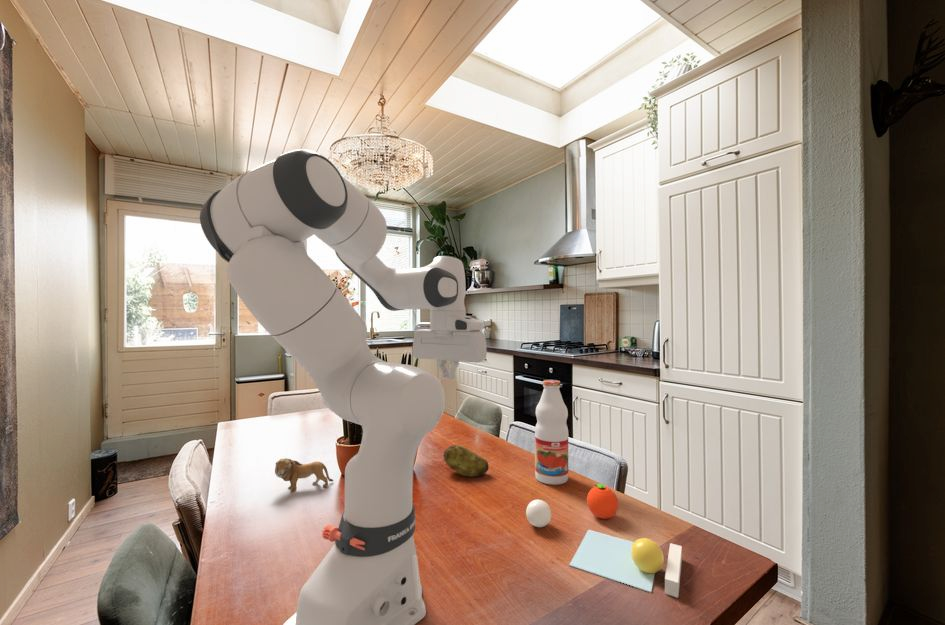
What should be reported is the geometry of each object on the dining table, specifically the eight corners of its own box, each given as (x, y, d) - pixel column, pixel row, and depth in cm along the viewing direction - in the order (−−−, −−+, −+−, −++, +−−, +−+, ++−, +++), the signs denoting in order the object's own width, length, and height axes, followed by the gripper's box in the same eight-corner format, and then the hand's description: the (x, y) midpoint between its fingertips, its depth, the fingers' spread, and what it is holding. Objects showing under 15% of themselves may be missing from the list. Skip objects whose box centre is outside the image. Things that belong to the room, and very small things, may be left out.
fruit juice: (565, 472, 117) (565, 378, 117) (571, 486, 107) (571, 384, 108) (533, 471, 117) (533, 378, 118) (536, 485, 108) (536, 383, 108)
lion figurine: (275, 498, 100) (275, 463, 100) (273, 490, 104) (273, 456, 104) (335, 485, 107) (335, 453, 107) (331, 478, 112) (331, 447, 112)
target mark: (651, 592, 66) (651, 591, 66) (569, 565, 73) (569, 564, 73) (659, 550, 78) (659, 549, 78) (588, 530, 85) (588, 529, 85)
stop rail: (678, 598, 65) (678, 582, 65) (664, 593, 66) (664, 578, 66) (681, 559, 75) (681, 546, 75) (670, 555, 76) (670, 543, 76)
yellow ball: (660, 585, 68) (664, 555, 68) (627, 571, 71) (630, 542, 71) (663, 568, 73) (666, 539, 73) (631, 555, 76) (635, 528, 76)
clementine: (581, 507, 95) (581, 478, 95) (608, 506, 96) (608, 477, 96) (593, 525, 87) (593, 493, 87) (623, 524, 88) (623, 492, 88)
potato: (477, 483, 109) (478, 455, 109) (439, 474, 115) (439, 447, 115) (491, 473, 116) (491, 446, 116) (454, 465, 122) (454, 439, 122)
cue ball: (530, 491, 88) (522, 516, 85) (554, 500, 86) (546, 526, 83) (531, 501, 92) (523, 525, 88) (554, 510, 90) (547, 534, 86)
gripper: (407, 322, 100) (407, 376, 100) (476, 323, 89) (476, 384, 89) (422, 322, 105) (422, 373, 105) (489, 323, 95) (489, 380, 95)
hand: (447, 378), depth 97 cm, fingers closed
